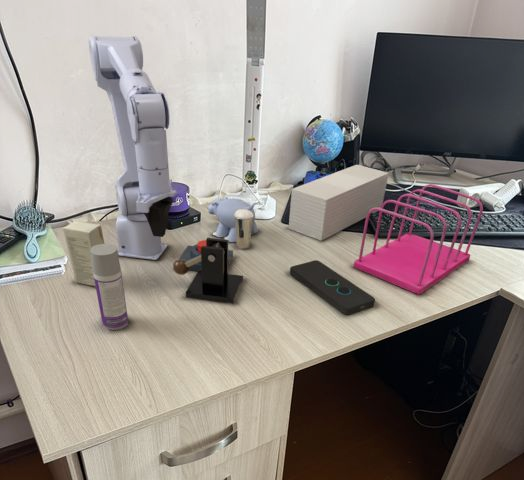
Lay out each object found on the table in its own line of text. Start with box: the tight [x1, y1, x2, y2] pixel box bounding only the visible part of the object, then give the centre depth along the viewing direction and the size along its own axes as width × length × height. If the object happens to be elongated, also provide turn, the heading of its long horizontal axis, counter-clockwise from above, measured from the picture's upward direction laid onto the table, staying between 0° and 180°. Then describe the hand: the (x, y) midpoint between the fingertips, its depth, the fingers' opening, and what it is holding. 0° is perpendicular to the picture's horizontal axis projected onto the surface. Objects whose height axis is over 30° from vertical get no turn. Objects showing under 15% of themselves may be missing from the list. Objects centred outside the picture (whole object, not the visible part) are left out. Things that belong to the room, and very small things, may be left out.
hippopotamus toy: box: [207, 197, 259, 243], centre depth 124 cm, size 11×15×10 cm
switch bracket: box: [185, 237, 244, 304], centre depth 99 cm, size 10×10×10 cm
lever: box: [172, 242, 225, 276], centre depth 99 cm, size 12×3×3 cm
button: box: [196, 239, 206, 253], centre depth 109 cm, size 4×4×2 cm
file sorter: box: [352, 183, 484, 295], centre depth 111 cm, size 17×25×16 cm
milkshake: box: [234, 209, 253, 250], centre depth 117 cm, size 4×5×10 cm
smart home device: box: [289, 259, 376, 316], centre depth 104 cm, size 8×2×20 cm
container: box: [90, 243, 129, 331], centre depth 86 cm, size 5×5×15 cm
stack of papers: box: [287, 164, 390, 242], centre depth 134 cm, size 32×11×11 cm, turn 140°
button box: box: [177, 243, 234, 272], centre depth 111 cm, size 11×9×4 cm
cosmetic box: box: [62, 220, 105, 287], centre depth 99 cm, size 6×4×12 cm
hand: (159, 235), depth 98 cm, fingers closed
